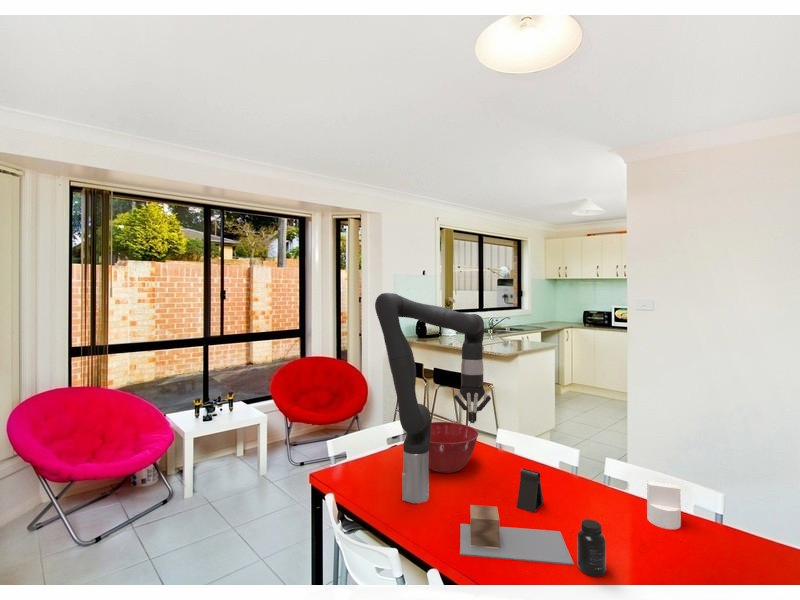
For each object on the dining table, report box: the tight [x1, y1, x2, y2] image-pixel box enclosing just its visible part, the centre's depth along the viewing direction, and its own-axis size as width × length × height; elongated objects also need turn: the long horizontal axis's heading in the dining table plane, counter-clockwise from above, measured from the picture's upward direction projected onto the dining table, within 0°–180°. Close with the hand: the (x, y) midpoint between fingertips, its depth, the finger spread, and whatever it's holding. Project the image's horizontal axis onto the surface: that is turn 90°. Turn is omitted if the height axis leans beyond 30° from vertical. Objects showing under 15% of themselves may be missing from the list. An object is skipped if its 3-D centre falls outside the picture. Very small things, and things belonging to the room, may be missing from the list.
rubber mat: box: [459, 523, 575, 566], centre depth 122 cm, size 30×16×1 cm, turn 81°
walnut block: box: [469, 504, 500, 549], centre depth 123 cm, size 8×8×8 cm
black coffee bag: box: [516, 468, 545, 514], centre depth 145 cm, size 9×6×12 cm, turn 140°
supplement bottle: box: [576, 518, 607, 578], centre depth 110 cm, size 7×7×12 cm
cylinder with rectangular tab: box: [646, 481, 682, 530], centre depth 133 cm, size 9×9×12 cm
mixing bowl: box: [429, 421, 479, 474], centre depth 178 cm, size 28×28×16 cm
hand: (472, 422), depth 143 cm, fingers closed
